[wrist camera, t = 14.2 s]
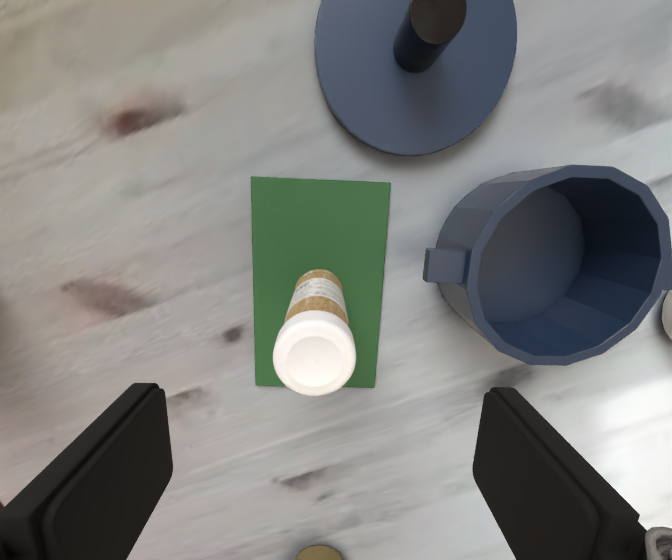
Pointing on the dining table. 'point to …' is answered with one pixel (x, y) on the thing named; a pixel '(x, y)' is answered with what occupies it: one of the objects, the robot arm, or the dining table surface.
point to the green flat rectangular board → (318, 259)
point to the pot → (554, 261)
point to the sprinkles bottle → (315, 337)
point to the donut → (667, 314)
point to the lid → (414, 68)
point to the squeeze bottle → (319, 553)
